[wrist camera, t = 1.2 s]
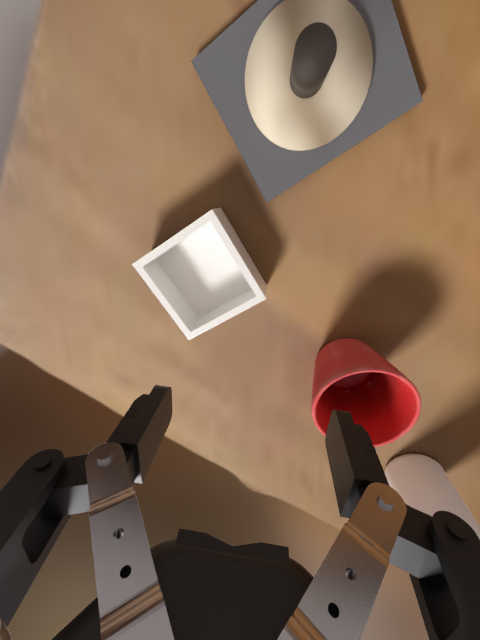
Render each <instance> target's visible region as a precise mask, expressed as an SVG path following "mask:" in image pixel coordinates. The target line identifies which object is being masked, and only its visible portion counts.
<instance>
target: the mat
mask: <svg viewBox="0 0 480 640" xmlns="http://www.w3.org/2000/svg"><path fill="white" fill-rule="evenodd" d="M283 1H284V0H258V1H257V2H256V3H255V4H253V5H252V6H251V7H250V8H249V9H248V10H247V11H246V12H245V13H244V14H242V15H241V16H240V17H239V18H238V19H237V20H236V21H235V22H234V23H233V24H231V25H230V26H229V27H228V28H227V29H226V30H225V31H224V32H223V33H222V34H220V35H219V36H218V37H217V38H216V39H215V40H214V41H213V42H212V43H210V44H209V45H208V46H207V47H206V48H205V49H204V50H203V51H202V52H201V53H199V54H198V55H197V56H196V57H195V58H194V59H193V60H192V61H191V62H192V64H193V65H194V67H195V69H196V71H197V73H198V75H199V77H200V79H201V80H202V82H203V84H204V86H205V88H206V90H207V92H208V94H209V95H210V97H211V99H212V101H213V103H214V105H215V107H216V108H217V110H218V112H219V114H220V116H221V118H222V120H223V122H224V123H225V125H226V127H227V129H228V131H229V133H230V135H231V137H232V138H233V140H234V142H235V144H236V146H237V148H238V150H239V151H240V153H241V155H242V157H243V159H244V161H245V163H246V165H247V166H248V168H249V170H250V172H251V174H252V176H253V178H254V180H255V181H256V183H257V185H258V187H259V189H260V191H261V193H262V194H263V196H264V198H265V200H266V202H268V201H270V200H272V199H273V198H275V197H276V196H278V195H279V194H281V193H282V192H284V191H285V190H287V189H288V188H290V187H291V186H293V185H295V184H296V183H298V182H299V181H301V180H302V179H304V178H305V177H307V176H308V175H310V174H311V173H313V172H315V171H316V170H318V169H319V168H321V167H322V166H324V165H325V164H327V163H328V162H330V161H331V160H333V159H334V158H336V157H338V156H339V155H341V154H342V153H344V152H345V151H347V150H348V149H350V148H351V147H353V146H354V145H356V144H358V143H359V142H361V141H362V140H364V139H365V138H367V137H368V136H370V135H371V134H373V133H374V132H376V131H377V130H379V129H381V128H382V127H384V126H385V125H387V124H388V123H390V122H391V121H393V120H394V119H396V118H397V117H399V116H401V115H402V114H404V113H405V112H407V111H408V110H410V109H411V108H413V107H414V106H416V105H417V104H419V103H420V102H422V101H423V100H422V96H421V93H420V90H419V87H418V84H417V81H416V77H415V74H414V71H413V68H412V65H411V61H410V58H409V55H408V52H407V49H406V45H405V42H404V39H403V36H402V33H401V29H400V26H399V23H398V20H397V17H396V13H395V10H394V7H393V4H392V1H391V0H348V1H349V2H350V3H351V4H352V5H353V6H354V7H355V8H356V9H357V11H358V12H359V13H360V15H361V16H362V18H363V20H364V22H365V24H366V26H367V29H368V31H369V35H370V38H371V44H372V50H373V68H372V76H371V82H370V86H369V89H368V93H367V95H366V98H365V100H364V103H363V105H362V107H361V108H360V110H359V112H358V114H357V115H356V117H355V118H354V120H353V121H352V122H351V123H350V125H349V126H348V127H347V128H346V129H345V130H344V131H343V132H342V133H341V134H340V135H339V136H337V137H336V138H335V139H334V140H332V141H331V142H329V143H327V144H326V145H324V146H321V147H319V148H316V149H313V150H309V151H291V150H287V149H284V148H281V147H279V146H277V145H275V144H274V143H272V142H271V141H269V140H268V139H267V138H266V137H265V136H264V135H263V134H262V133H261V131H260V130H259V129H258V127H257V126H256V124H255V122H254V120H253V118H252V116H251V113H250V110H249V107H248V104H247V99H246V93H245V68H246V61H247V57H248V52H249V49H250V46H251V44H252V41H253V39H254V37H255V34H256V32H257V30H258V29H259V27H260V26H261V24H262V22H263V21H264V20H265V18H266V17H267V16H268V15H269V13H270V12H271V11H272V10H273V9H274V8H275V7H276V6H278V5H279V4H280V3H282V2H283Z"/></svg>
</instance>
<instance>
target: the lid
mask: <svg viewBox="0 0 480 640" xmlns="http://www.w3.org/2000/svg"><path fill="white" fill-rule="evenodd" d="M372 68H373V50H372V44H371V38H370V35H369V31H368V29H367V26H366V24H365V22H364V20H363V18H362V16H361V15H360V13H359V12H358V11H357V9H356V8H355V7H354V6H353V5H352V4H351V3H350V2H349V1H348V0H284V1H283V2H282V3H280V4H279V5H278V6H276V7H275V8H274V9H273V10H272V11H271V12H270V13H269V15H268V16H267V17H266V18H265V20H264V21H263V22H262V24H261V26H260V27H259V29H258V30H257V32H256V34H255V37H254V39H253V41H252V44H251V46H250V49H249V52H248V57H247V61H246V68H245V93H246V99H247V104H248V107H249V110H250V113H251V116H252V118H253V120H254V122H255V124H256V126H257V127H258V129H259V130H260V131H261V133H262V134H263V135H264V136H265V137H266V138H267V139H268V140H269V141H271V142H272V143H274V144H275V145H277V146H279V147H281V148H284V149H287V150H291V151H309V150H313V149H316V148H319V147H321V146H324V145H326V144H327V143H329V142H331V141H332V140H334V139H335V138H336V137H337V136H339V135H340V134H341V133H342V132H343V131H344V130H345V129H346V128H347V127H348V126H349V125H350V123H351V122H352V121H353V120H354V118H355V117H356V115H357V114H358V112H359V110H360V108H361V107H362V105H363V103H364V100H365V98H366V95H367V93H368V89H369V86H370V82H371V76H372Z"/></svg>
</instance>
